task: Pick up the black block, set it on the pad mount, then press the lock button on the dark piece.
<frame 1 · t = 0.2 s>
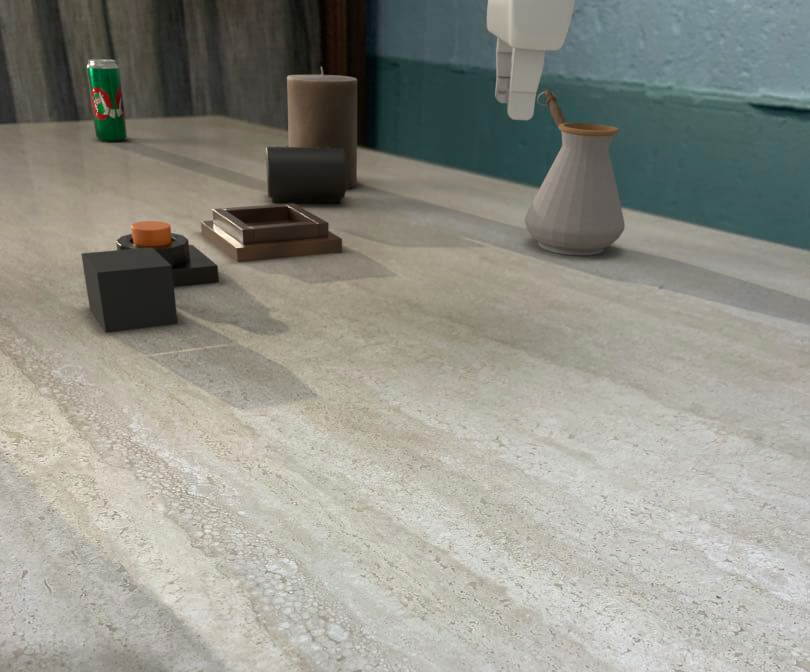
hand: (512, 110, 66), 18 cm above the table, tool pointing down, fingers open, 8 cm apart
lock button: (151, 234, 83), point 4 cm above the table, slide at 0.1 cm
dark piece: (156, 276, 85), on the table
black block: (133, 318, 75), on the table
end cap: (305, 203, 115), on the table
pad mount: (270, 243, 97), on the table
pillar candle: (323, 185, 125), on the table
soda can: (112, 141, 148), on the table
coffee pot: (557, 238, 106), on the table
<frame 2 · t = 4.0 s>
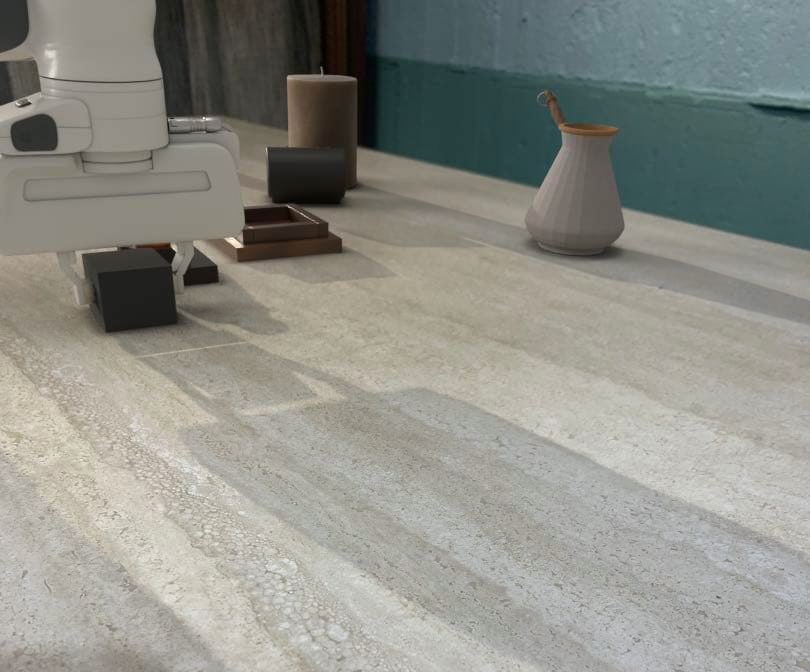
hand: (130, 298, 74), 2 cm above the table, tool pointing down, fingers closed on black block, 6 cm apart
black block: (133, 318, 75), on the table, touching gripper
everything else where it was.
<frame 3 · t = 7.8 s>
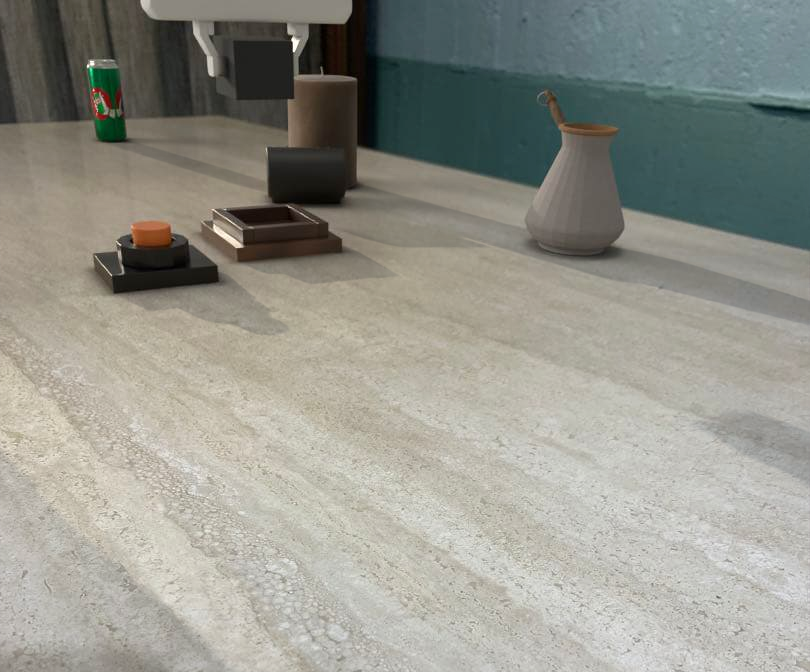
hand: (253, 76, 86), 17 cm above the table, tool pointing down, fingers closed on black block, 6 cm apart
black block: (255, 95, 87), point 15 cm above the table, touching gripper
everything else where it was.
when the fingers open (3 cm above the table, at t = 11.6 s): black block stays where it is, resting on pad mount.
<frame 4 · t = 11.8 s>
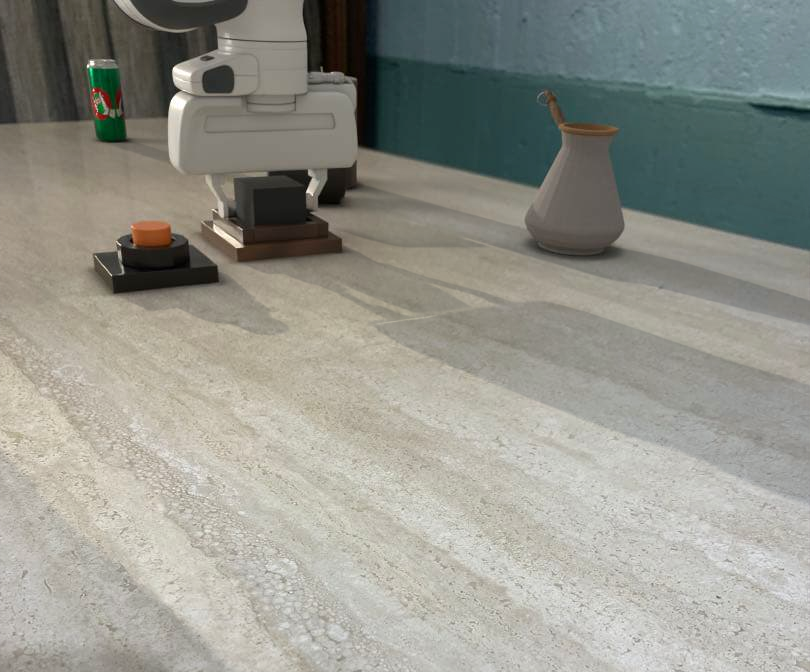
hand: (269, 214, 95), 3 cm above the table, tool pointing down, fingers open, 8 cm apart
black block: (271, 229, 96), point 1 cm above the table, touching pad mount
everything else where it was.
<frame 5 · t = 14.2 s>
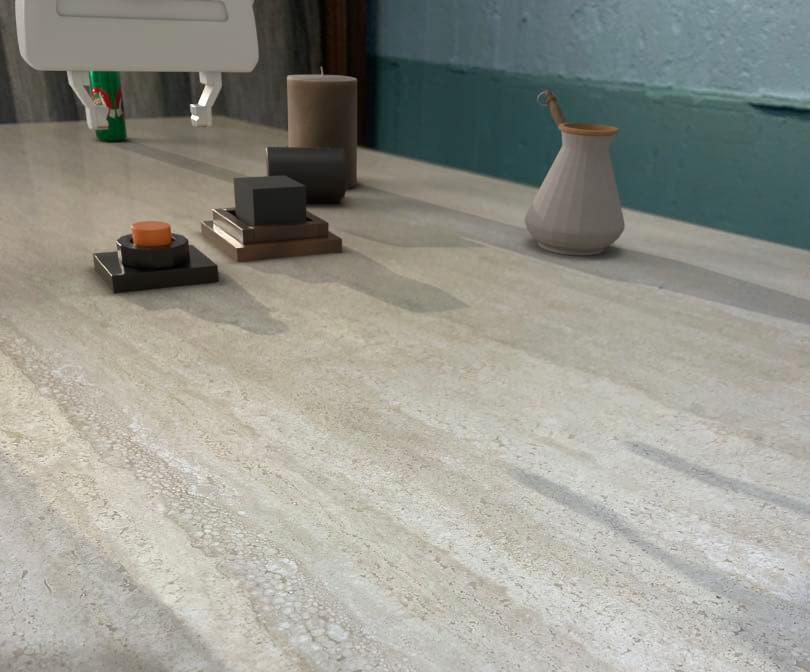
hand: (151, 127, 79), 13 cm above the table, tool pointing down, fingers open, 8 cm apart
nothing on the table moved.
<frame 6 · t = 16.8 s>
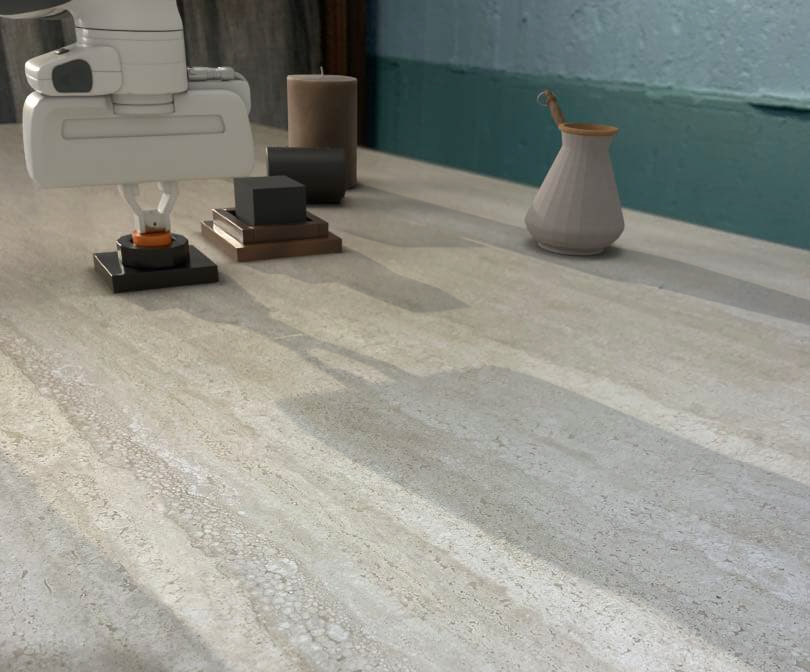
hand: (153, 231, 82), 4 cm above the table, tool pointing down, fingers closed, pressing on lock button
lock button: (152, 241, 83), point 3 cm above the table, slide at -0.5 cm, touching gripper
everything else where it was.
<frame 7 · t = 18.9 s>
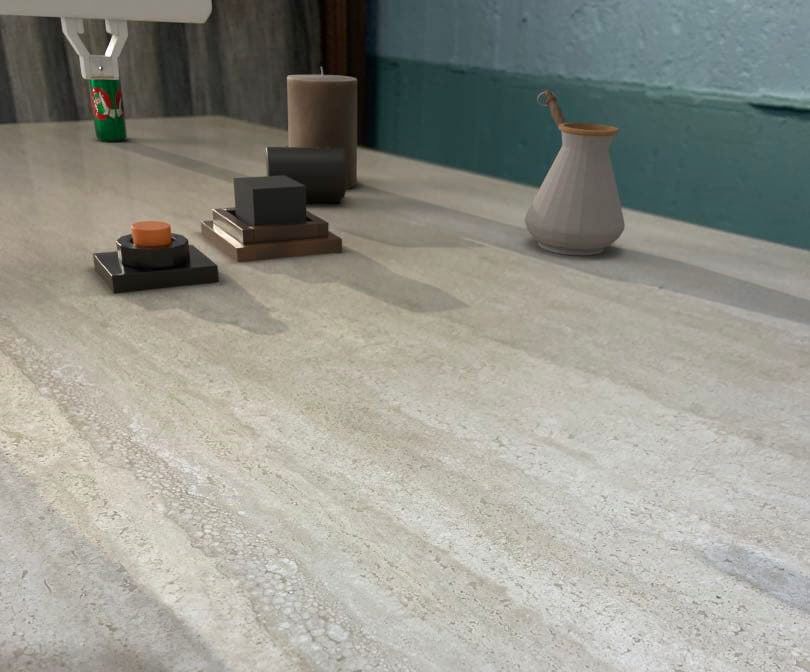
hand: (100, 78, 77), 17 cm above the table, tool pointing down, fingers closed
lock button: (151, 234, 83), point 4 cm above the table, slide at 0.1 cm
everything else where it was.
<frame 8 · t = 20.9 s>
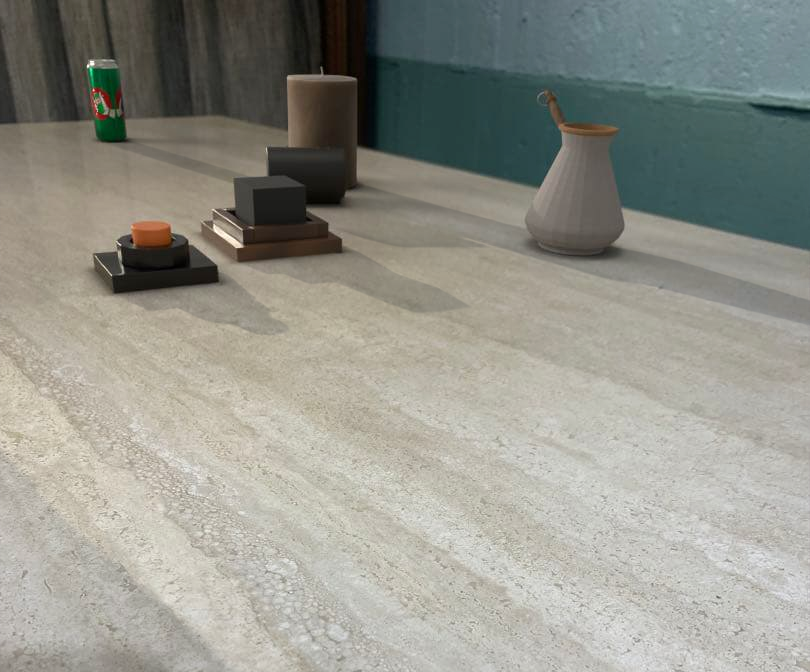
nothing on the table moved.
at the end: black block 0.1 cm off-centre on the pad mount, point 1.5 cm above the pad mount's base; lock button pushed in 1.0 cm at the most during the clip, back to where it started at the end; lock button slide at 0.1 cm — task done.
